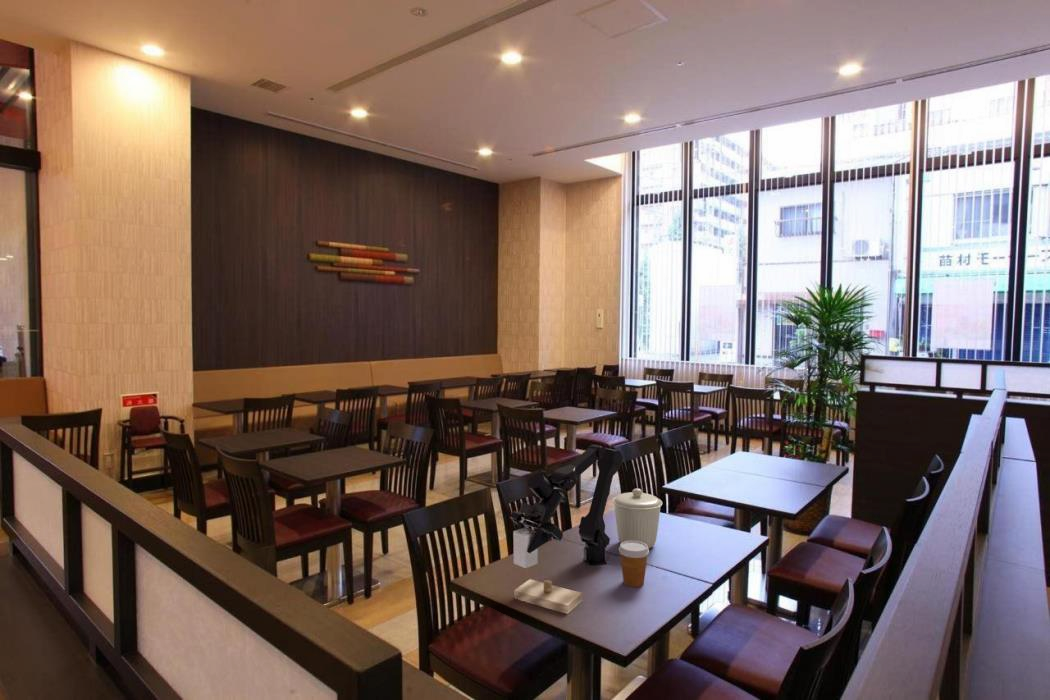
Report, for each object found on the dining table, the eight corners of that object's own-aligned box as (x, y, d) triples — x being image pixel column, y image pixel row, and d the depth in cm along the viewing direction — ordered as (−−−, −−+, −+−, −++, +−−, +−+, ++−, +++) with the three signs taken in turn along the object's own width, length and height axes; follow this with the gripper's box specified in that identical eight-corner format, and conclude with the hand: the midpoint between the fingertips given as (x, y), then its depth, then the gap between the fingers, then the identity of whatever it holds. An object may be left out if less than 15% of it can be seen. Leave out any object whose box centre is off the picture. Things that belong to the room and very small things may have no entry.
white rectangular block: (525, 558, 186) (525, 527, 186) (537, 563, 182) (537, 531, 182) (513, 563, 183) (513, 531, 182) (525, 568, 179) (525, 535, 178)
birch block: (514, 598, 179) (514, 580, 178) (529, 587, 186) (529, 569, 186) (567, 614, 169) (567, 595, 169) (581, 601, 177) (581, 583, 176)
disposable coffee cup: (612, 579, 191) (613, 542, 191) (637, 574, 195) (638, 538, 194) (629, 591, 183) (629, 553, 182) (655, 586, 186) (655, 548, 186)
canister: (671, 544, 220) (672, 488, 219) (644, 558, 207) (644, 499, 206) (630, 532, 233) (630, 479, 232) (602, 545, 220) (602, 488, 219)
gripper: (513, 486, 191) (487, 528, 184) (556, 498, 177) (529, 545, 170) (531, 504, 197) (507, 546, 190) (574, 518, 183) (549, 563, 176)
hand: (522, 549), depth 181 cm, fingers closed on white rectangular block, 5 cm apart
